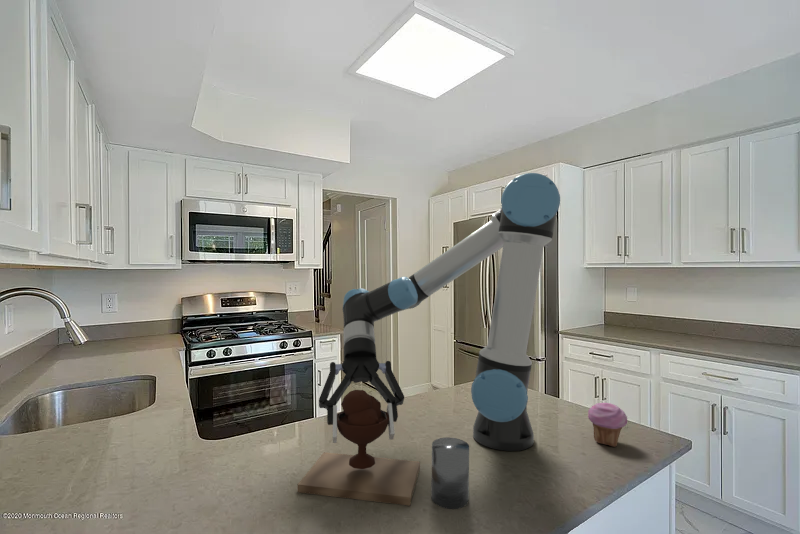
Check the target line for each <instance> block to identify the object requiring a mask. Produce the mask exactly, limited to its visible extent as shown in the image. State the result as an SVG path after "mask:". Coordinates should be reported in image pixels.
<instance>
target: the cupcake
mask: <svg viewBox="0 0 800 534" xmlns="http://www.w3.org/2000/svg"><path fill="white" fill-rule="evenodd" d="M587 411H588V413H587V417H588V420H589V421H590V422H591V423H592V426H593V438H594V439H593V440H594V441H595V442H596V443H598V444H601V445H607V446H609V447H614V448H615V447H617V445H618V441H619V438H620V434H621V431H622V429H623V428H624V427H625V426H627V424H628V416H627V415H626V413H625V411H624V410H623V409H622V408H621V407H619V406H618V405H616V404H614V403H611V402H598V403H595V404H594V405H591V407H589V408H588V410H587Z"/></svg>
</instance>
